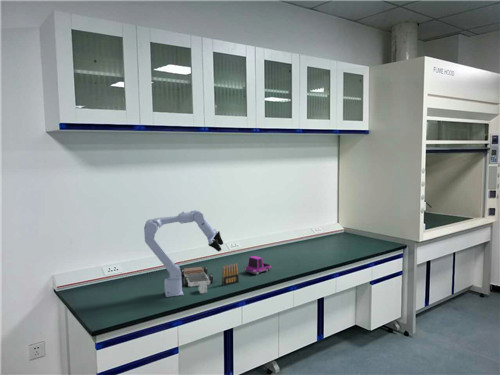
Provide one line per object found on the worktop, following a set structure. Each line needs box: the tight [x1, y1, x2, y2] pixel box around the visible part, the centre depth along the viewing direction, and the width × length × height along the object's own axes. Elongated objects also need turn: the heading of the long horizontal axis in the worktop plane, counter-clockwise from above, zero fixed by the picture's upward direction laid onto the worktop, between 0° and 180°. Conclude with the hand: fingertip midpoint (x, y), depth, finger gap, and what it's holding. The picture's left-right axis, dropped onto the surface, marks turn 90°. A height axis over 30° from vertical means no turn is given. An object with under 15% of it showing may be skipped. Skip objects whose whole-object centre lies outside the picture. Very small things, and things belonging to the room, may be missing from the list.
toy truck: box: [244, 255, 272, 276], centre depth 264 cm, size 11×16×10 cm
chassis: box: [180, 266, 214, 288], centre depth 250 cm, size 17×24×5 cm
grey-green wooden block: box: [197, 282, 208, 294], centre depth 229 cm, size 4×5×5 cm
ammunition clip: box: [221, 262, 240, 287], centre depth 241 cm, size 11×2×12 cm, turn 125°
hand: (221, 247), depth 231 cm, fingers open, 7 cm apart
